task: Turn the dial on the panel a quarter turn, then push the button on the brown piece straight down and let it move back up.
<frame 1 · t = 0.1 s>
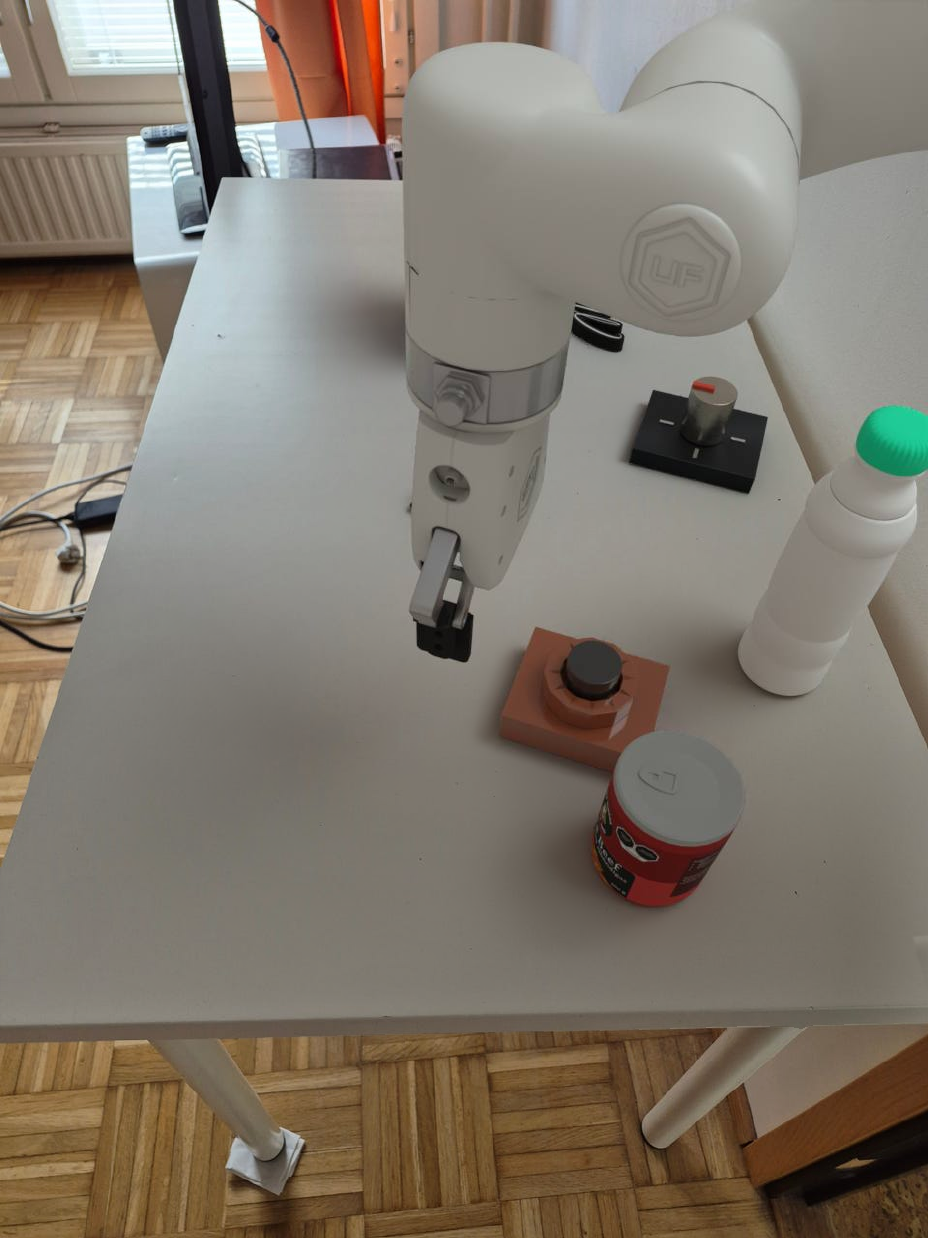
hand: (470, 593, 55), 17 cm above the table, tool pointing down, fingers open, 9 cm apart
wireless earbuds: (452, 514, 83), on the table
water bottle: (777, 665, 73), on the table
nameplate: (586, 286, 108), on the table
book: (447, 340, 100), on the table
dial: (708, 410, 86), point 5 cm above the table, hinge at 0.0°
panel: (696, 447, 90), on the table
brown piece: (582, 711, 70), on the table
canned food: (644, 858, 62), on the table
button: (592, 670, 65), point 6 cm above the table, slide at 0.1 cm
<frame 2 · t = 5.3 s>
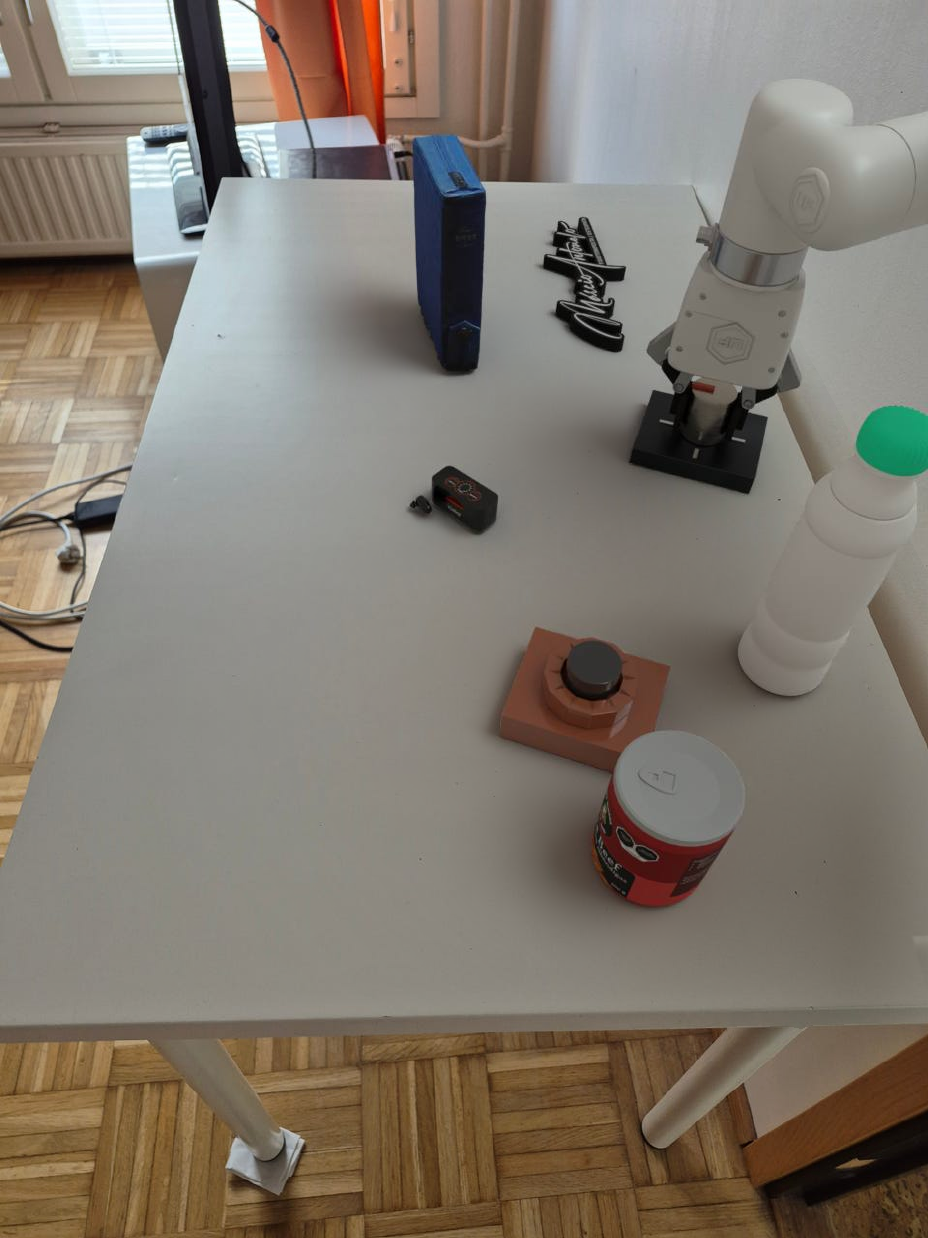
hand: (704, 424, 88), 3 cm above the table, tool pointing down, fingers closed on dial, 4 cm apart
dial: (708, 410, 86), point 5 cm above the table, hinge at 0.1°, touching gripper
everything else where it was.
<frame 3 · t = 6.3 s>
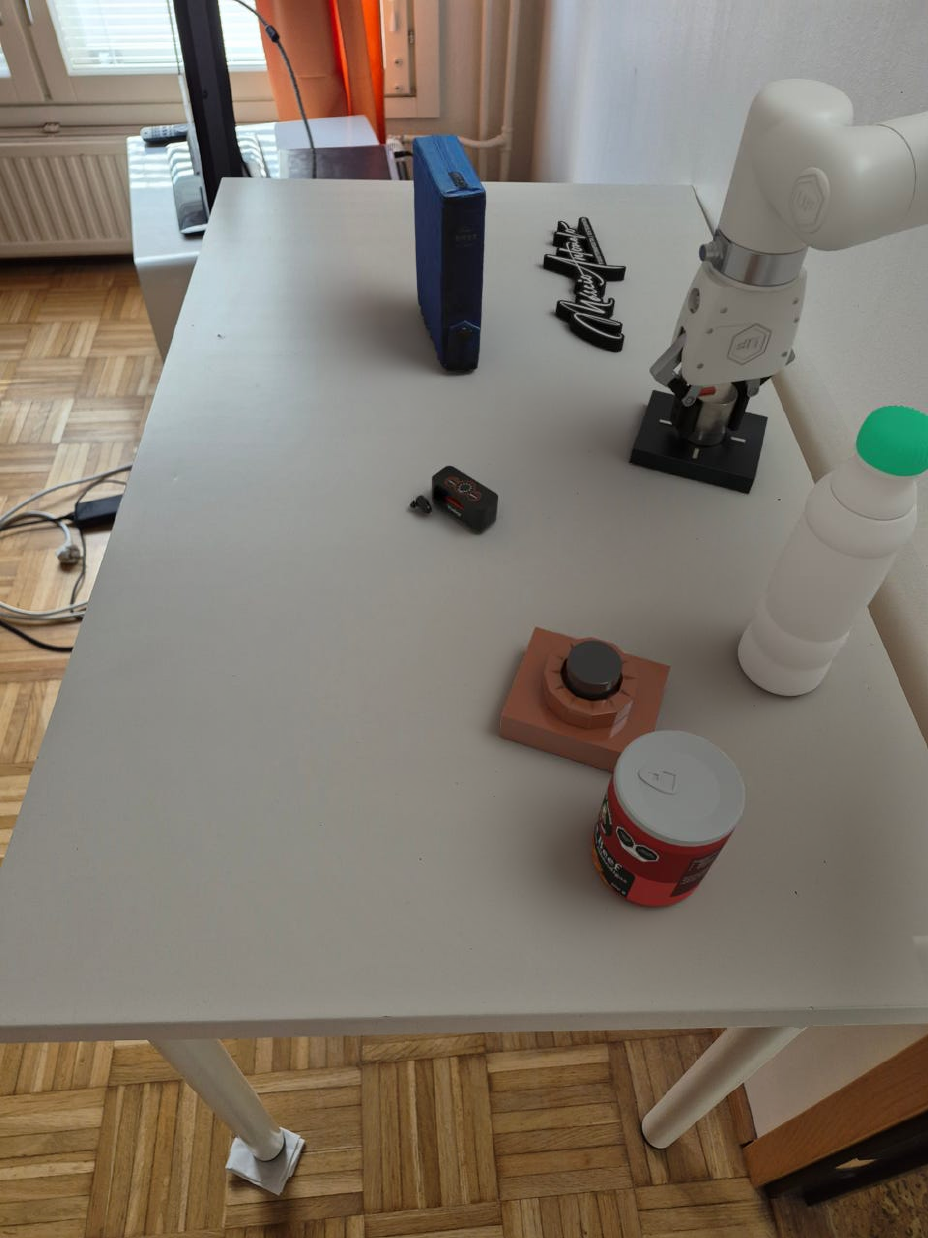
hand: (704, 424, 88), 3 cm above the table, tool pointing down, fingers closed on dial, 4 cm apart
dial: (708, 410, 86), point 5 cm above the table, hinge at 33.8°, touching gripper
everything else where it was.
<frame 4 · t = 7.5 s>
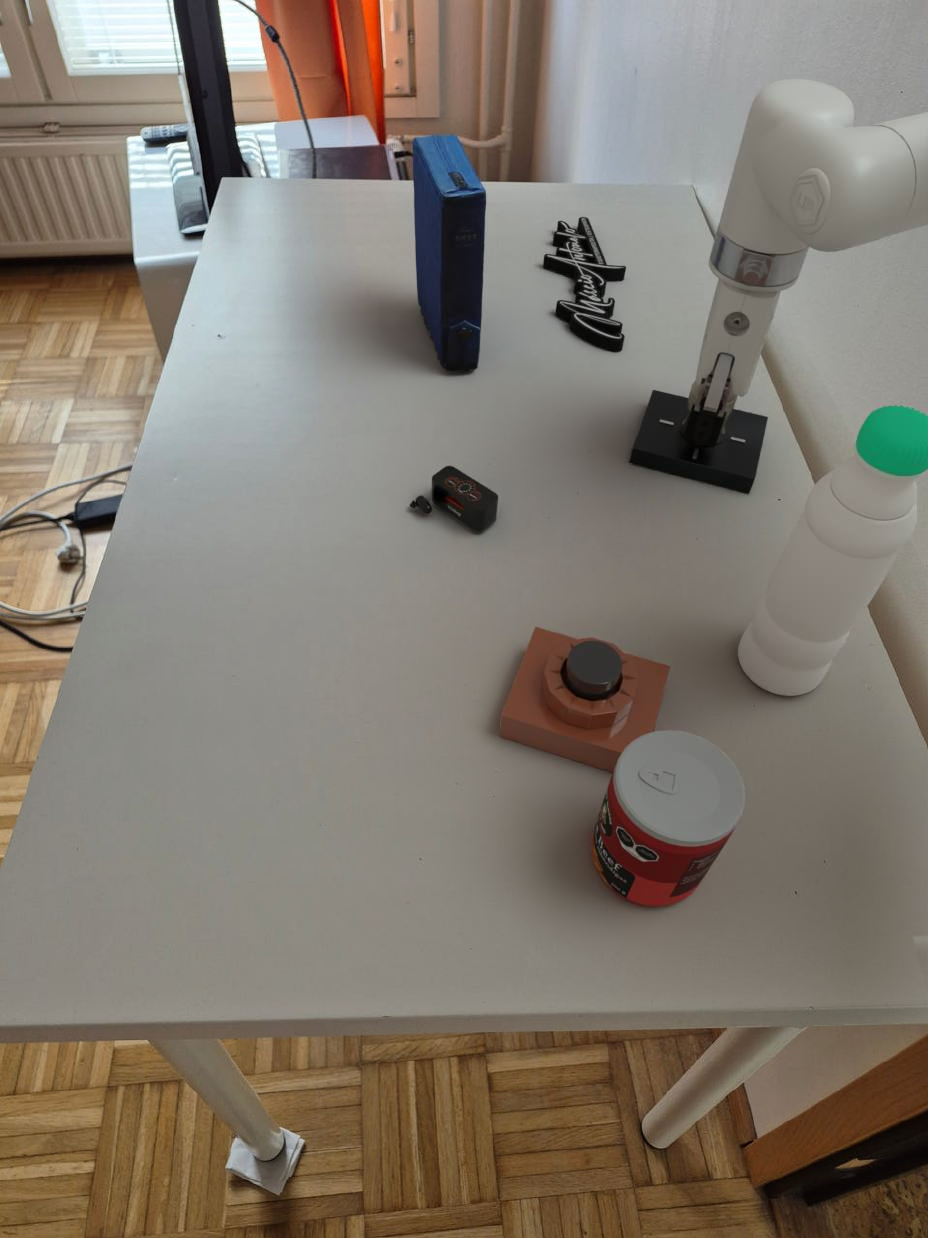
hand: (704, 424, 88), 3 cm above the table, tool pointing down, fingers closed on dial, 4 cm apart
dial: (708, 410, 86), point 5 cm above the table, hinge at 90.1°, touching gripper
everything else where it was.
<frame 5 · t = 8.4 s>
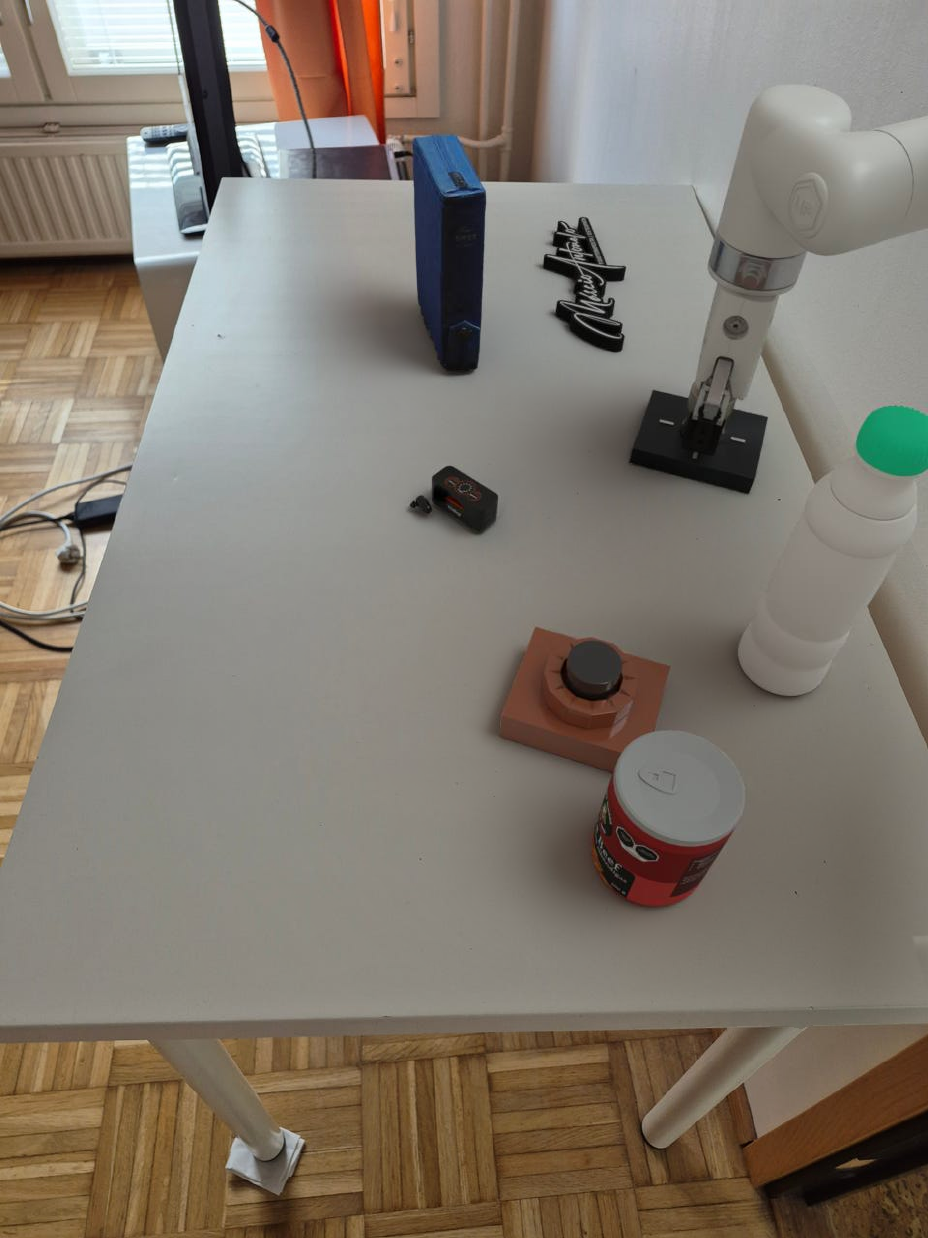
hand: (706, 420, 87), 4 cm above the table, tool pointing down, fingers open, 9 cm apart
dial: (708, 410, 86), point 5 cm above the table, hinge at 87.3°
everything else where it was.
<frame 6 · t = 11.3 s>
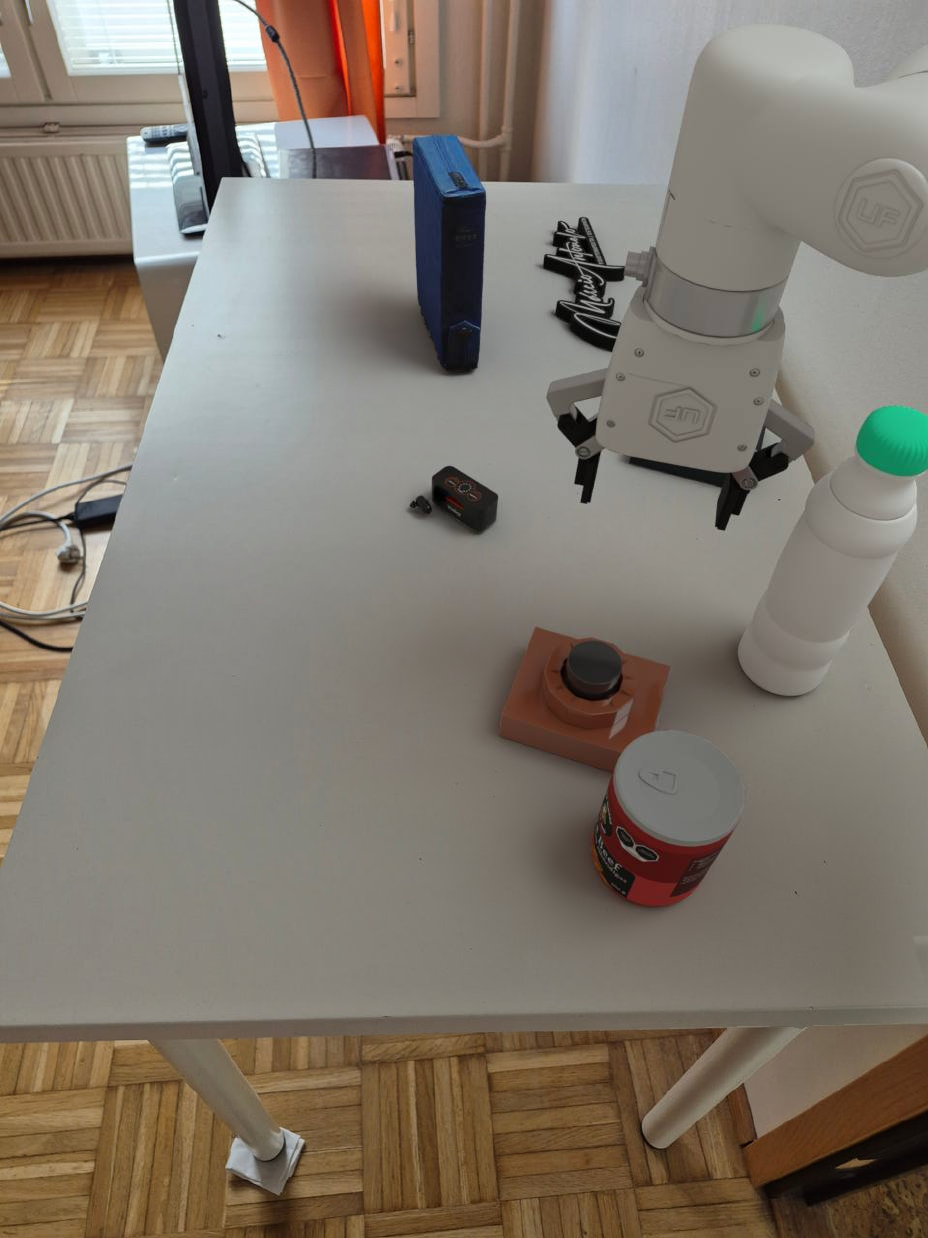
hand: (653, 503, 64), 14 cm above the table, tool pointing down, fingers open, 9 cm apart
nothing on the table moved.
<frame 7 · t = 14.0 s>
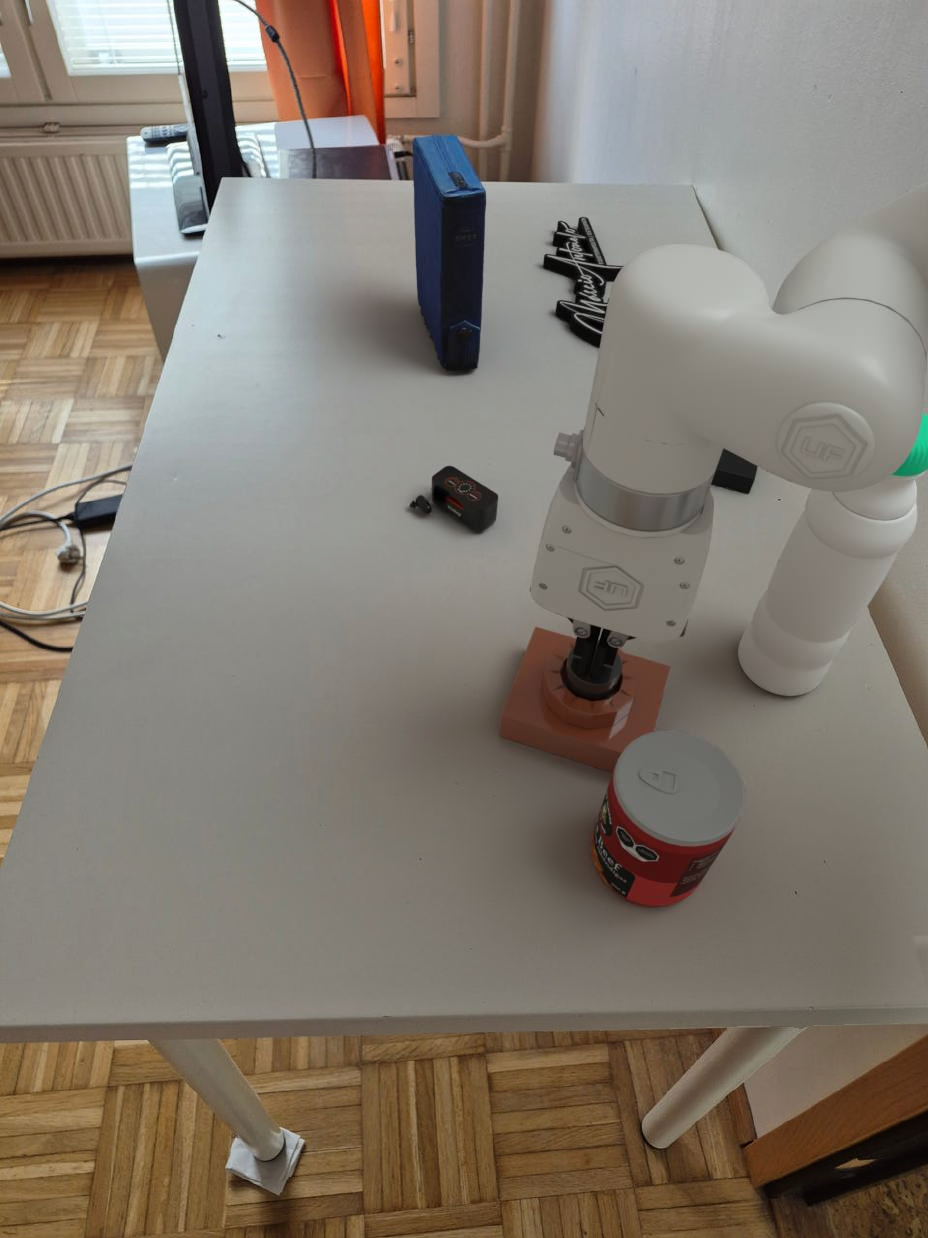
hand: (592, 661, 65), 7 cm above the table, tool pointing down, fingers closed
button: (592, 670, 65), point 6 cm above the table, slide at 0.1 cm, touching gripper
everything else where it was.
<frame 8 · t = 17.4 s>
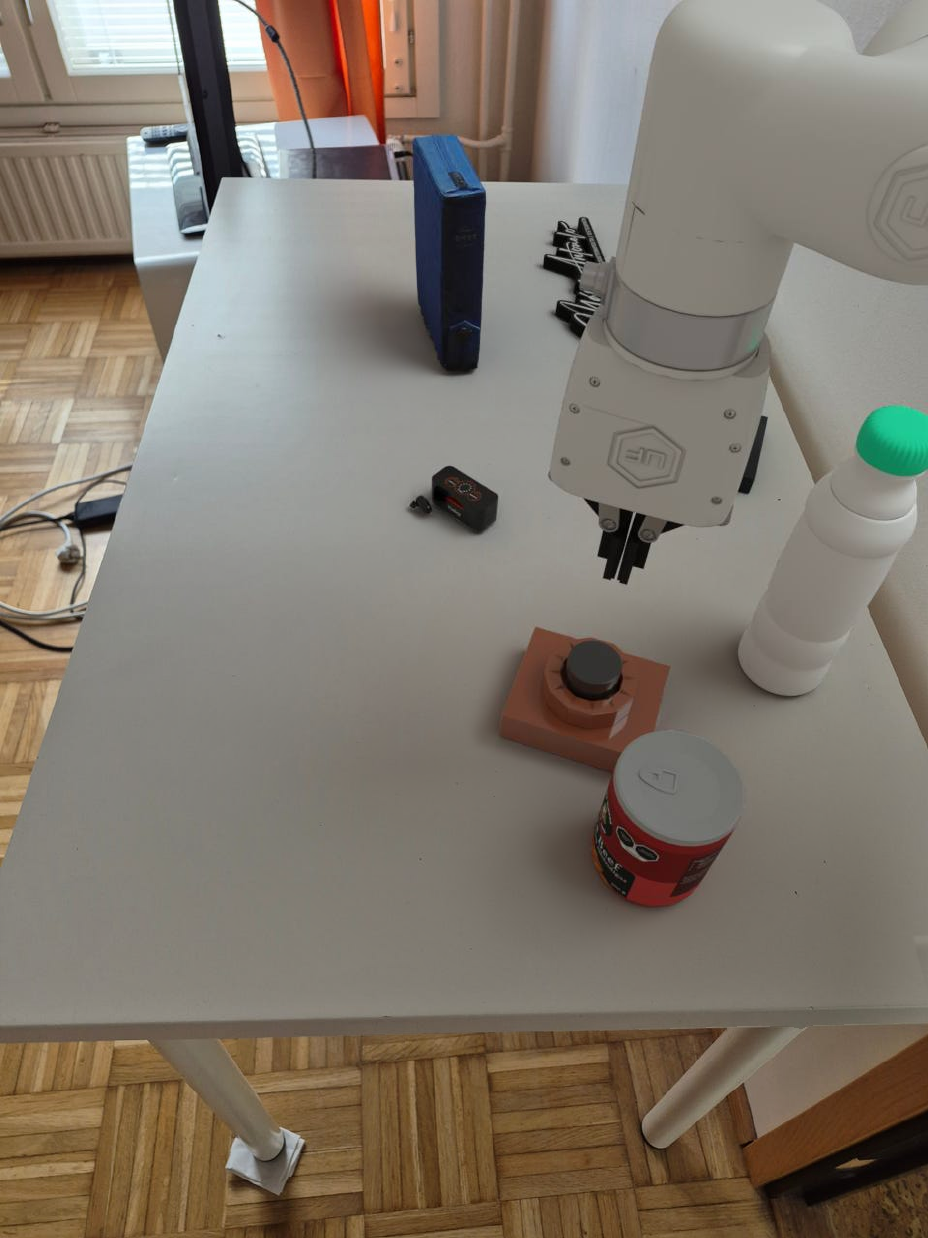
hand: (619, 565, 56), 17 cm above the table, tool pointing down, fingers closed
button: (592, 670, 65), point 6 cm above the table, slide at 0.1 cm
everything else where it was.
at the end: dial at +87° (first picture: +0°); button pushed in 1.3 cm at the most during the clip, back to where it started at the end; button slide at 0.1 cm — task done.
